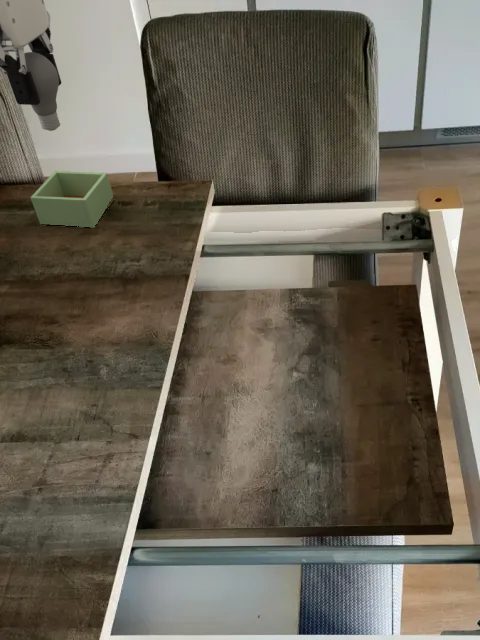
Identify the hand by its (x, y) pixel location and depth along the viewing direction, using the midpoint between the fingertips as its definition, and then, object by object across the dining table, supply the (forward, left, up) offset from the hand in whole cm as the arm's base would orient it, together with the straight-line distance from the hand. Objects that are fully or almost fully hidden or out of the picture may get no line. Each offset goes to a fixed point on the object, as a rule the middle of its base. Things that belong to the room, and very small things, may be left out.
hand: (39, 92), depth 91 cm
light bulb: (0, 0, -5) cm, 5 cm away
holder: (0, 0, -18) cm, 18 cm away
